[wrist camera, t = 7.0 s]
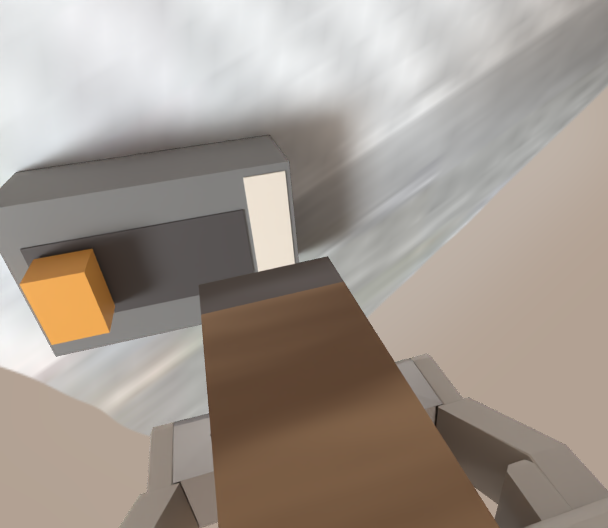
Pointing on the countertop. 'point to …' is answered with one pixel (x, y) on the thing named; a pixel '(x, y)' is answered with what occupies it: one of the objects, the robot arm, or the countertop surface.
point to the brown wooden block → (319, 413)
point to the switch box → (155, 227)
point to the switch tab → (69, 296)
